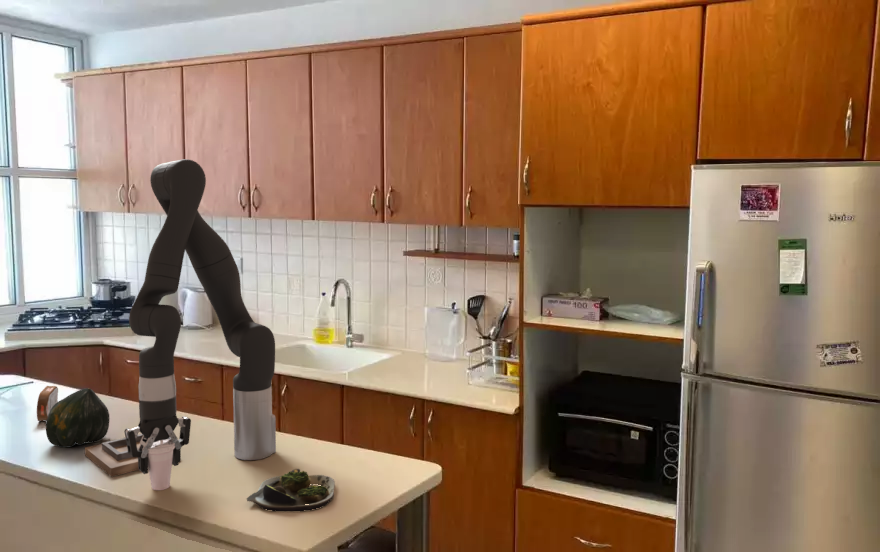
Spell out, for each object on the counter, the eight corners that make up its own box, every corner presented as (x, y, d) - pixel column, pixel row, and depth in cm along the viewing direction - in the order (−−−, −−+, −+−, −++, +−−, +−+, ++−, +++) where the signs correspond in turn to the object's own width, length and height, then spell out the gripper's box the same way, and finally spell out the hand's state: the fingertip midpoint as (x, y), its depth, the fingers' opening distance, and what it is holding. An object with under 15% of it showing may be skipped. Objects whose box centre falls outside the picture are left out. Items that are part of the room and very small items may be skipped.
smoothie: (165, 494, 149) (163, 431, 147) (138, 491, 150) (136, 429, 149) (182, 482, 155) (180, 421, 154) (156, 479, 156) (154, 419, 155)
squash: (24, 426, 175) (53, 386, 171) (72, 411, 189) (101, 374, 185) (56, 468, 172) (87, 428, 168) (103, 450, 187) (133, 413, 183)
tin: (48, 409, 207) (47, 382, 206) (60, 409, 208) (59, 381, 207) (35, 425, 192) (34, 396, 192) (48, 424, 193) (47, 395, 193)
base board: (150, 440, 182) (149, 427, 181) (179, 459, 169) (179, 445, 168) (85, 455, 170) (84, 441, 170) (111, 476, 158) (110, 462, 157)
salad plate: (261, 476, 160) (261, 457, 159) (339, 475, 161) (339, 456, 160) (242, 514, 141) (242, 492, 140) (330, 513, 142) (330, 491, 141)
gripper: (182, 385, 158) (184, 456, 160) (116, 397, 148) (119, 472, 150) (196, 392, 153) (198, 465, 154) (130, 405, 143) (133, 482, 144)
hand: (159, 468), depth 152 cm, fingers closed on smoothie, 6 cm apart
